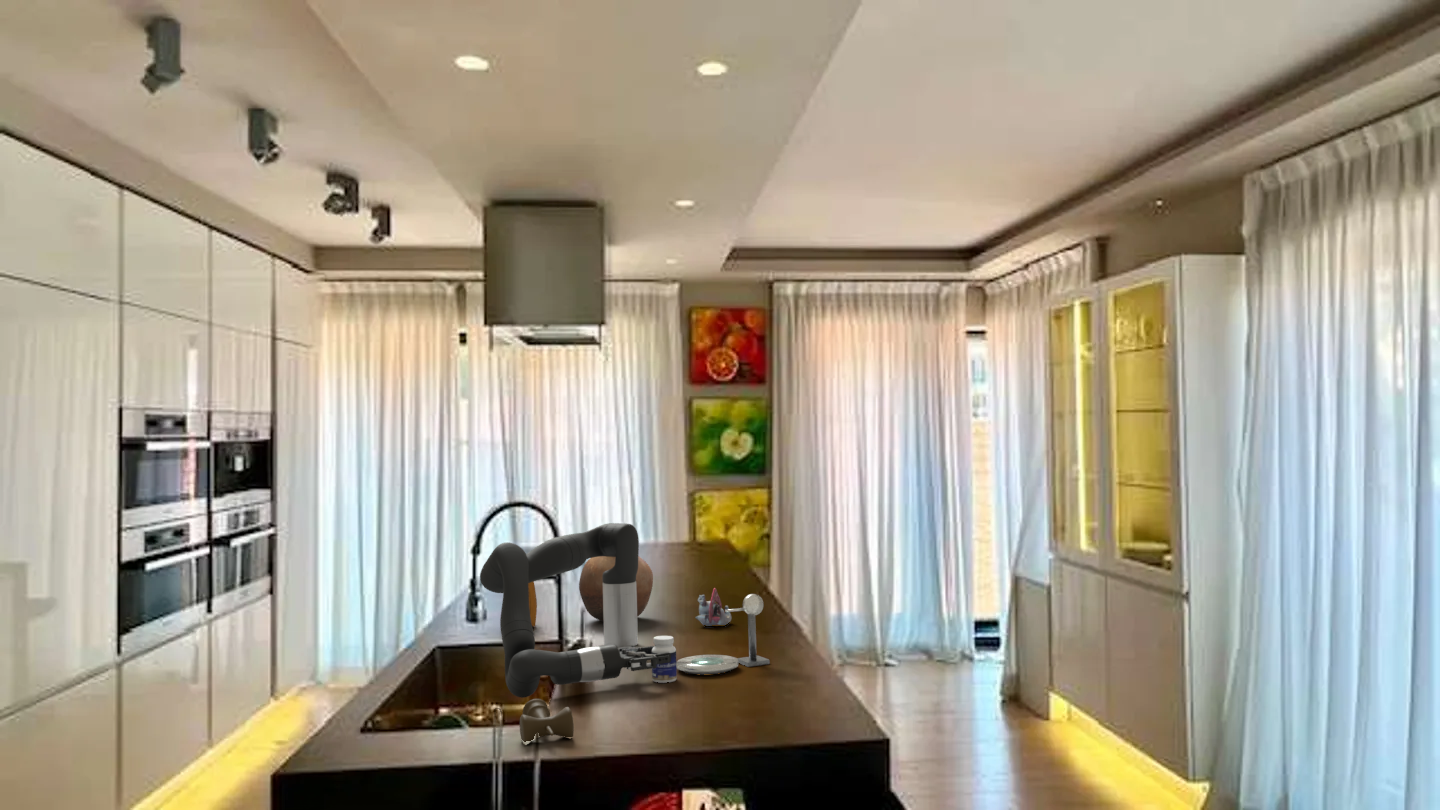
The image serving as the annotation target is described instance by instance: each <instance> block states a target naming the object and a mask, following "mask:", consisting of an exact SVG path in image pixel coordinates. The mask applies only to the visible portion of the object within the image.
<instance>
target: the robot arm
mask: <svg viewBox="0 0 1440 810" xmlns="http://www.w3.org/2000/svg"><path fill="white" fill-rule="evenodd" d="M639 541H640V539H639V533H638V531H637V528H636V527H635V526H634V525H633V524H631V523H624V522H623V523H622V522H621V523H619V522H609V523H608V522H607V523H604V524H602V525H599V526H596V527H594V528H592V529H590V530H587V531H584V532H578V533H577V532H576V533H570V534H566V535H565V534H564V535H561V536H560V535H559V536H556V537H553V538H551V539H550V538H549V539H548V540H547V539H546V540H545V541H544V542H543V543H540V544H538V545H537V546H536V547H534V548H532V549H531V550H530V551H529V552H527V553H526V552H525V550H524V549H523V548H522V547H521V546H519V545H518V544H515V543H514V542H502V543H500V544H498V545H497V546H495V548H494V549H493V550H492V552H491V553H490V555H489V556H488V558H487V559H486V561H485V563H484V564H483V565H482V568H481V570H480V573H479V580H480V583H481V585H482V586H483V587H484V588H485V589H486V590H487V591H490V592H491V593H495V594H503V596H502V604H501V612H500V619H499V620H500V621H499V624H500V628H499V629H500V634H501V640H502V647H503V650H504V677H505V683H506V687H507V689H508V691H509V692H510V693H511V694H512V695H514V696H515V697H517V698H522V699H523V698H528V697H531V696H532V695H533V694H534V693H535V692H536V691H537V689H538V687H539V683H540V679H541V677H543V676H546V677H547V676H548V677H550V680H551V681H552V683H553V684H555V685H559V686H560V685H570V684H575V683H576V684H577V683H590V682H596V681H598V682H599V681H604V680H611V679H617V678H618V677H619V676H620V675H621V672H622V669H626V670H630V671H631V672H635V671H643V670H652V668H657V664H664V663H670V662H671V654H670V653H669V652H667V653H660V654H652V648H653V647H654V646H655V645H650V646H642V647H641V646H637V645H638V643H639V641H638V640H639V639H638V637H639V636H638V635H639V634H638V633H639V632H638V628H639V627H638V617H637V592H636V574H637V571H638V556H639V548H640V547H639V546H640V545H639V544H640V543H639ZM600 556H607V557H616V558H615V565H614V567H613V568H611V569H609V570H607V571H605V572H604V573H603V575H602V581H603V615H604V621H603V644H601V645H596V646H594V645H593V646H586V647H582V648H579V649H574V650H567V651H566V650H565V651H560V652H556V651H550V650H543V649H535V647H536V641H535V640H536V639H535V634H534V630H533V627H532V623H531V617H530V609H529V589H528V583H531V582H533V581H534V582H536V581H539V580H543V579H546V578H550V577H552V576H555V575H556V576H557V575H559V574H563V573H567V572H571V571H573V570H576V569H579V568H581V567H582V566H584V564H585V563H586V562H587V560H589V559H590V558H593V557H600ZM647 661H650V662H647Z"/></svg>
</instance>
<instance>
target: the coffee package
mask: <svg viewBox="0 0 1440 810" xmlns="http://www.w3.org/2000/svg"><path fill="white" fill-rule="evenodd" d="M528 589H529V609H530V617H531V623H532V628H533V627H536V622H537V612H538V609H537V608H538V601H537V593H536V587H535V581H533V582H531V583H528Z"/></svg>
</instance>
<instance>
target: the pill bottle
mask: <svg viewBox="0 0 1440 810" xmlns="http://www.w3.org/2000/svg"><path fill="white" fill-rule="evenodd" d="M674 643H675V640H674V636H672V635H657V636H654V637H653V644H654V645H653V646H654V647H653V648H652V654H660V653H667V652H669V653H670V654H671V662H670V663H664V664H657V668H652V669H651V679H652V681H653V682H655V683H657V682H658V684H666V683H667V682H669V683H672V682H673V683H674V682H675V681H676V680H677V679H678V678H677V677H678V673H677V671H678V669H677V667H676V662H677V649H676V646H674Z"/></svg>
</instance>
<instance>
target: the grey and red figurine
mask: <svg viewBox="0 0 1440 810" xmlns="http://www.w3.org/2000/svg"><path fill="white" fill-rule="evenodd" d="M697 602H698V603H699V605H698V614H699V615H697V616H695V619H696V620H697V621H699V622H700V623H701V624H702V626H704V625H706V626H712V625H726V624H728V623H729V622H730V623H731V621H732V614H731V612H725V610H729V609H730V608H729V605H725V606H724V609H723V608H722V607H723V606H722V605H723V604H722V601H721V598H720V596H719V594H718V590H717V588H716V587H714V588H713V589H712V593H711V598H710V600H708V601H707V599H706V595H705V594H699V595H698V598H697ZM730 623H729V624H730ZM729 624H728V625H729Z"/></svg>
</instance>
